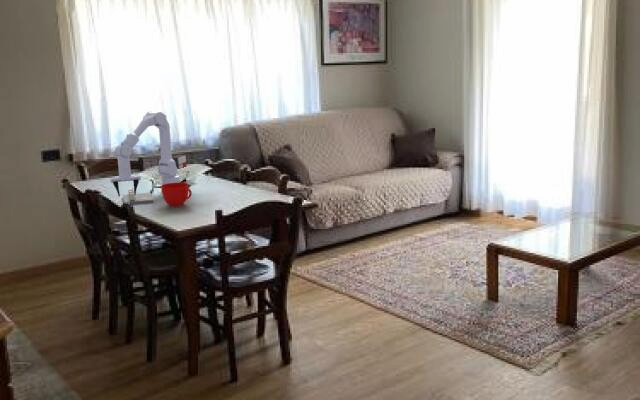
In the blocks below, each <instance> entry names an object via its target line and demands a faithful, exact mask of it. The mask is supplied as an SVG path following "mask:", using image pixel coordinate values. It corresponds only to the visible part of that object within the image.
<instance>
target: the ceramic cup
mask: <svg viewBox="0 0 640 400" xmlns="http://www.w3.org/2000/svg"><path fill="white" fill-rule="evenodd" d="M160 186H161V187H160V189H161V191H162V192H161V193H162V198H163V200H164V202H165V203H166V204H167V205H168V206H169V207H171V208H172V207H173V208H174V207H181V206H183V205H184V204H185V203H186V201H187V200H188V199H191V197H192V190H191V189H190V188H189V187H190V186H189V184H188V183H186V182H180V183H168V184H164V185H162V184H161V185H160Z"/></svg>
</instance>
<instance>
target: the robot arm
mask: <svg viewBox="0 0 640 400" xmlns="http://www.w3.org/2000/svg"><path fill="white" fill-rule="evenodd" d="M142 117H143V118H142V120H141V122H140V123H139V124H138V125H137V126H136V128H135V129H134V131H133V132H132V133H131V132H130V133H129V134H128V133H127V134H126V137H125V138H124V140H123V141H121V142H120V144H118V145H117V146H116V147H115V149H114V151H113V152H114V154H115V156H116V159H117V165H118V177H113V178H112V177H111V178H110V183H111V184H112V185H113V187H114V189H115V190H116V192H117V194H118V195H117V196H118V197H120V196H121V194H120V188H119V183H120V182H121V183H122V182H132V181H133V191H134V193H135V195H136V194H137V189H138V185H139V181H142V180H141V178H142V177H141V175H137V176H136V175H134V176H133V175H132V171H131V161H130V160H131V158H130V156H131V155H132V152H133V151H132V150H133V148H134V147H135V146H136V145H137V144H138V142H139V141H140V139H139V138H140V137H141V136H142V134H143V133H144V132H145V131H146V130H147V129H148V128H149V127H152V126H155V128H157V129H158V133H159V145H160V146H159V147H160V148H159V149H160V159H159V161H158V166H157V171H158V174H160V177H161V186H162V185H164V184H168V183H181V182H180V180H179V176H176V173H177V167H176V164H175V161H174V160H173V159H172V157H173V156H172V143H171V130H170V129H171V127H170V123H169V121H168V119H167V114H165V113H164V112H162V111H161V112H160V111H158V112H157V111H147V112H146V113H145V115H144V116H142ZM161 193H162V190H161Z"/></svg>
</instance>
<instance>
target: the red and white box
mask: <svg viewBox="0 0 640 400" xmlns="http://www.w3.org/2000/svg"><path fill="white" fill-rule="evenodd" d="M186 157H187V156H186V155H185V154H177V155H175V156H172V159H173V160H174V161H175V164H176V167H177V169H181V168H184V167H187V165H188V163H187V158H186ZM187 168H188V167H187Z"/></svg>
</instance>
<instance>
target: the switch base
mask: <svg viewBox="0 0 640 400" xmlns="http://www.w3.org/2000/svg"><path fill="white" fill-rule="evenodd" d="M122 199H123V203H130V204H132V205H133V206H134V205H142V204H143V205H144V204H153V203H154V202H155V200H154V197H153V194H152V193H151V192H142V193H141V192H140V193H139V192H138V193H136V195H135V200H130V196H129V193H128V194H122ZM154 204H155V203H154ZM132 205H131V206H132Z"/></svg>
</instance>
